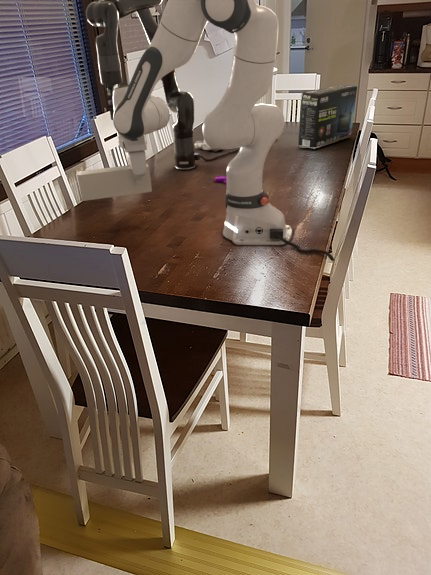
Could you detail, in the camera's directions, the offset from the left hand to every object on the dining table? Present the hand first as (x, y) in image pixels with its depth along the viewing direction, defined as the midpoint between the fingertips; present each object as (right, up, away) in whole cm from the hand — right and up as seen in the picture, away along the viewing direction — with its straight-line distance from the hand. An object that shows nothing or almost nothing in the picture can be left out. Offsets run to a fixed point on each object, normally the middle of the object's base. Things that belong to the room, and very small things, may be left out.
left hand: (116, 117), depth 169 cm
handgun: (+42, -21, +21) cm, 51 cm away
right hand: (+10, -28, -16) cm, 34 cm away
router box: (+95, +14, +76) cm, 122 cm away
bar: (+4, -32, -16) cm, 36 cm away
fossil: (+34, +11, +75) cm, 83 cm away
